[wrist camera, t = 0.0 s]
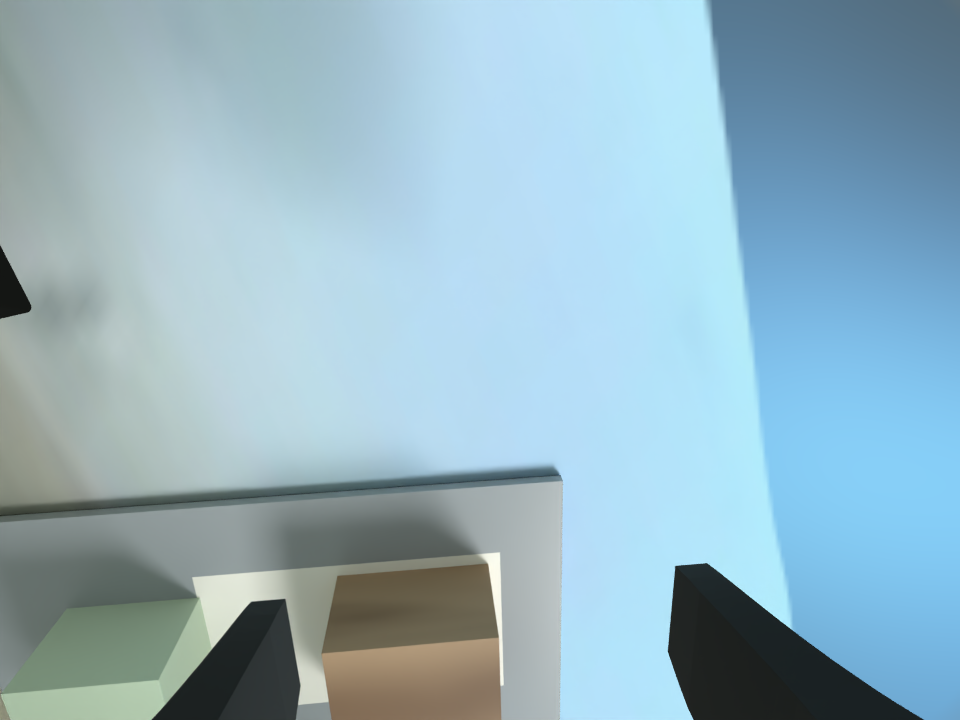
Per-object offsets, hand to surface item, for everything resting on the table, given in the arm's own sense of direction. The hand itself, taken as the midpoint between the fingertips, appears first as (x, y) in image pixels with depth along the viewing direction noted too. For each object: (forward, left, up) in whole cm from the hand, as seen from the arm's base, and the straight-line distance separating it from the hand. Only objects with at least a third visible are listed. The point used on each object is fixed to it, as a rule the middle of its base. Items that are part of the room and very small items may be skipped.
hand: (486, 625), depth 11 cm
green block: (-9, +12, -10) cm, 18 cm away
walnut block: (-9, +2, -10) cm, 13 cm away
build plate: (-9, +7, -10) cm, 15 cm away
